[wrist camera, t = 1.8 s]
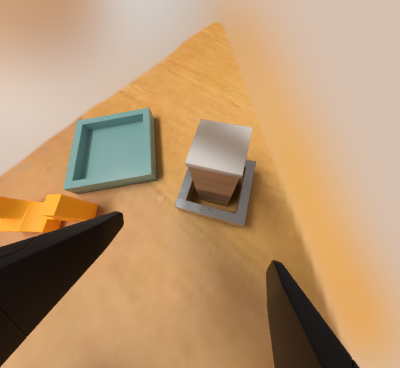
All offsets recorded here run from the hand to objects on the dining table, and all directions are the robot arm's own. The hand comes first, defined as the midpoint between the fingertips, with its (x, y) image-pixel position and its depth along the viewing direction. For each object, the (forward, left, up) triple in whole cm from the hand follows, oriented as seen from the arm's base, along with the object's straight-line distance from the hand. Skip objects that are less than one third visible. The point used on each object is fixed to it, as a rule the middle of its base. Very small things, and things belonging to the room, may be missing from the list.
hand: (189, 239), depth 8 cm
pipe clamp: (+7, +23, -14) cm, 27 cm away
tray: (+17, +13, -13) cm, 26 cm away
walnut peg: (+7, -3, -13) cm, 15 cm away
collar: (+7, -3, -13) cm, 15 cm away
